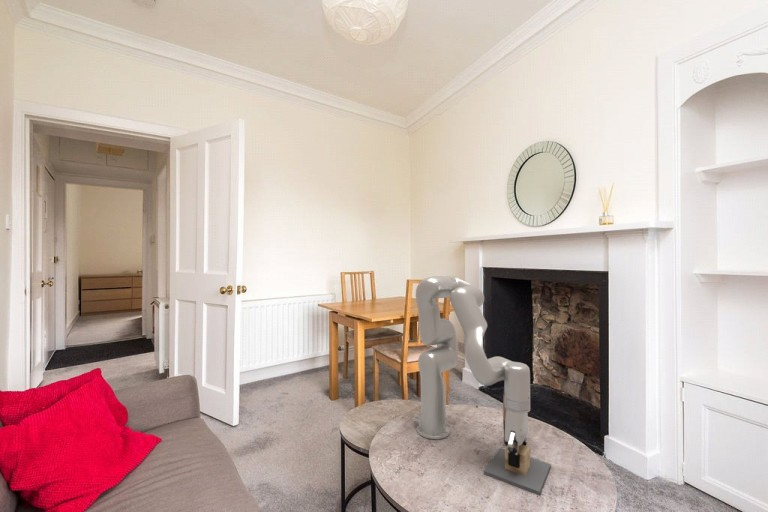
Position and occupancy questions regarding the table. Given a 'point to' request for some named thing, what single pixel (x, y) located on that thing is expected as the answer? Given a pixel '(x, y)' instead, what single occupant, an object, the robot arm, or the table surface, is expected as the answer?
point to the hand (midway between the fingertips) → (517, 459)
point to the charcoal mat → (529, 482)
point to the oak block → (524, 460)
